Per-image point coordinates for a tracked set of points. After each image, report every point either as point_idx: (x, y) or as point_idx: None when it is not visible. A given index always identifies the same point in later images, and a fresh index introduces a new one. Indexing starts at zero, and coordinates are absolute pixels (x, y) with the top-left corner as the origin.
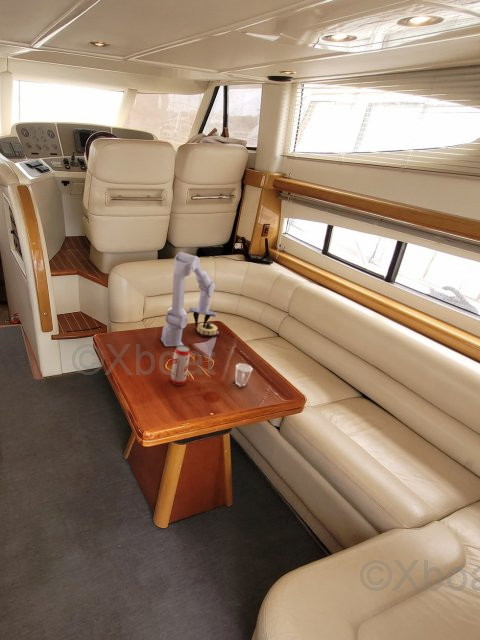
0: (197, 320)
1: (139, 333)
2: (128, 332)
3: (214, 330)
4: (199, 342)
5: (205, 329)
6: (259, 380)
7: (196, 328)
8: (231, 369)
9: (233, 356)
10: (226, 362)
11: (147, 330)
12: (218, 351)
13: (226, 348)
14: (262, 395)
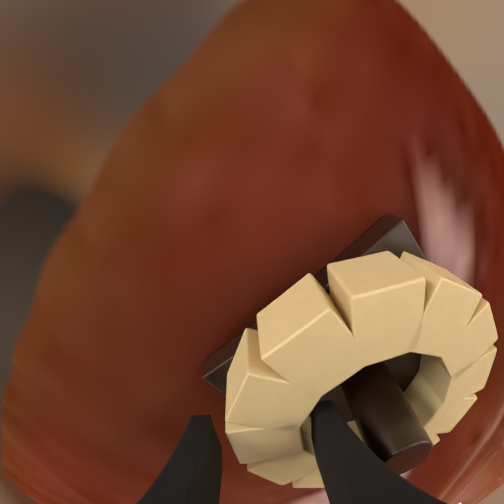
0: (204, 501)
1: (30, 482)
2: (10, 478)
3: (451, 427)
4: (319, 489)
5: None
6: (499, 473)
7: (210, 379)
8: (446, 499)
9: (480, 455)
10: (441, 493)
11: (16, 460)
12: (427, 477)
13: (473, 434)
14: (480, 496)
